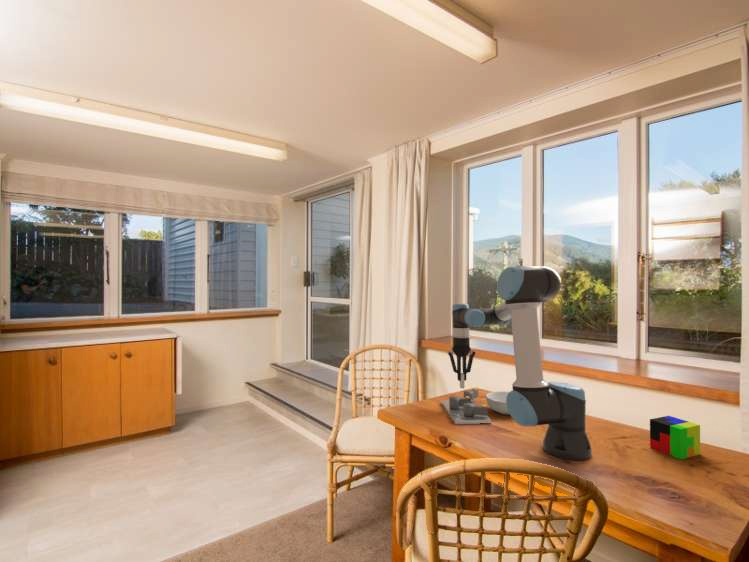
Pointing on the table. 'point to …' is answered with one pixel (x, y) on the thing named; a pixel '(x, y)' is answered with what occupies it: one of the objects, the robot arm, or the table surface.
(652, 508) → the table surface
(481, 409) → the knob
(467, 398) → the knob
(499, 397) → the cereal bowl
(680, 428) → the puzzle toy
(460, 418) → the level plate
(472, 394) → the knob
